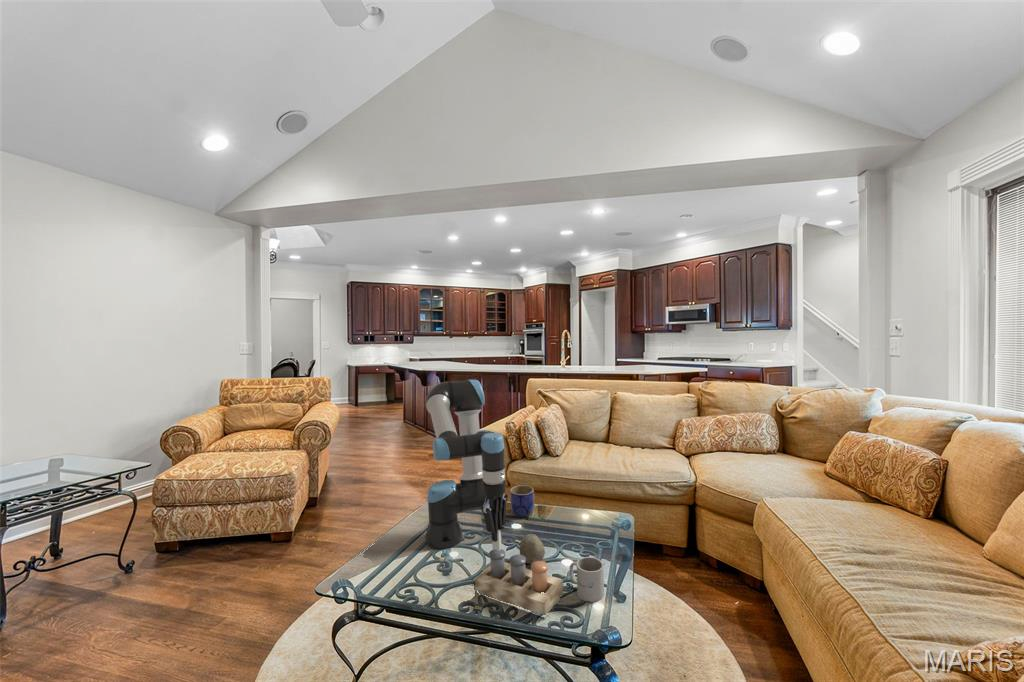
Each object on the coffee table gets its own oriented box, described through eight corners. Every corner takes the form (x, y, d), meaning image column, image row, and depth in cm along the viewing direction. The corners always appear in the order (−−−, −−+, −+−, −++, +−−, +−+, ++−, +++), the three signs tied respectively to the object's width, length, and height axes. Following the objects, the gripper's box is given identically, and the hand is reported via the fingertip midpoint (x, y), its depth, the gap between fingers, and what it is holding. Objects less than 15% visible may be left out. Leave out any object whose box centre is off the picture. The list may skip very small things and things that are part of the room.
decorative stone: (515, 558, 169) (514, 533, 169) (534, 552, 173) (534, 527, 172) (528, 572, 160) (527, 546, 159) (548, 565, 164) (547, 539, 163)
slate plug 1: (487, 574, 152) (486, 554, 151) (495, 566, 156) (494, 547, 156) (500, 579, 149) (499, 559, 148) (509, 570, 153) (508, 551, 153)
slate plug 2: (507, 581, 147) (506, 561, 147) (515, 572, 152) (514, 553, 151) (521, 586, 145) (520, 565, 144) (529, 577, 149) (528, 557, 149)
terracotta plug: (528, 588, 143) (527, 567, 143) (536, 579, 148) (535, 559, 147) (543, 593, 140) (542, 572, 140) (551, 584, 145) (550, 563, 145)
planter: (505, 514, 205) (504, 491, 204) (521, 506, 213) (520, 483, 212) (524, 521, 198) (523, 496, 197) (539, 512, 206) (538, 488, 205)
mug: (609, 594, 147) (609, 565, 146) (590, 605, 142) (589, 575, 141) (583, 576, 157) (582, 549, 156) (564, 586, 152) (563, 558, 151)
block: (475, 593, 150) (474, 579, 150) (496, 572, 161) (496, 559, 161) (545, 618, 136) (544, 603, 136) (563, 594, 148) (562, 579, 147)
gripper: (492, 489, 142) (495, 561, 144) (513, 475, 153) (516, 542, 155) (473, 485, 146) (476, 555, 148) (495, 472, 157) (498, 537, 159)
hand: (497, 548), depth 152 cm, fingers closed
